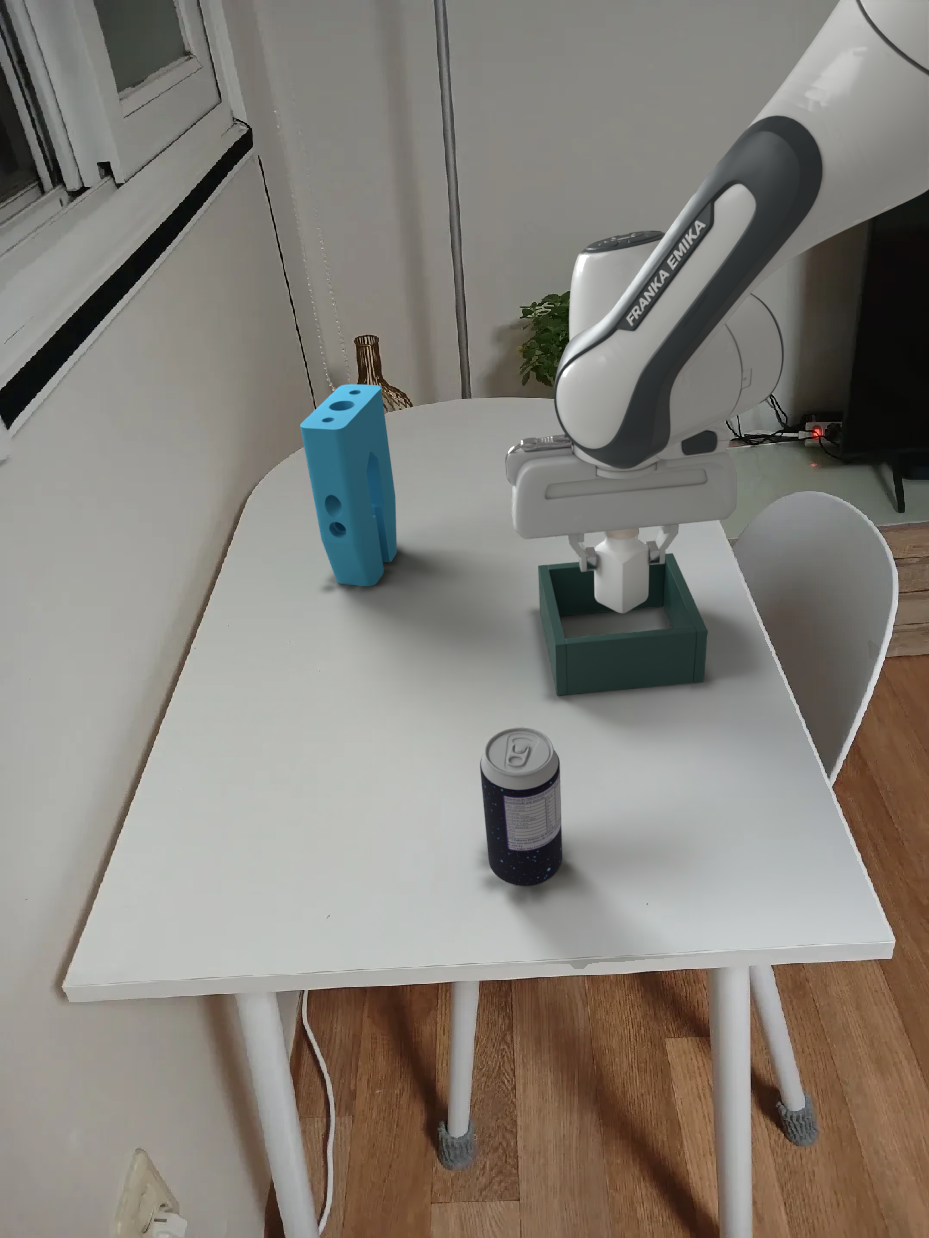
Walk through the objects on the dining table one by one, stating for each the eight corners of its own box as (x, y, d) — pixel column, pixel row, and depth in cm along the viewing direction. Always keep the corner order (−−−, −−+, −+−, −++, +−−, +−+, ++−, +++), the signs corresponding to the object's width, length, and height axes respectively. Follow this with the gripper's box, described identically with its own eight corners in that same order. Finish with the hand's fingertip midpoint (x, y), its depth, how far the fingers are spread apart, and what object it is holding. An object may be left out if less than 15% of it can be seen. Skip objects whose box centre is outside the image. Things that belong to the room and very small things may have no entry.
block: (366, 538, 118) (342, 384, 107) (404, 542, 117) (383, 385, 105) (327, 591, 109) (296, 427, 97) (368, 595, 107) (341, 430, 96)
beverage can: (568, 842, 75) (566, 728, 69) (554, 900, 71) (550, 783, 64) (499, 831, 77) (490, 719, 70) (481, 887, 72) (469, 772, 66)
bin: (670, 601, 102) (672, 552, 98) (703, 682, 90) (708, 631, 87) (539, 613, 102) (537, 565, 98) (556, 695, 90) (555, 645, 87)
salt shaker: (592, 601, 93) (590, 516, 88) (620, 585, 95) (620, 500, 90) (622, 617, 91) (622, 530, 85) (650, 600, 92) (653, 514, 87)
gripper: (506, 456, 80) (516, 593, 88) (749, 431, 80) (737, 571, 88) (500, 426, 85) (510, 558, 93) (728, 403, 85) (718, 538, 93)
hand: (622, 565), depth 90 cm, fingers closed on salt shaker, 5 cm apart
